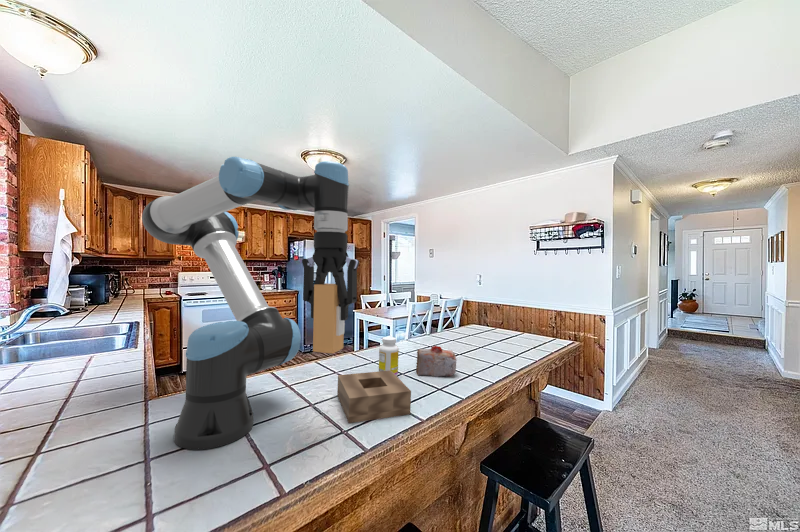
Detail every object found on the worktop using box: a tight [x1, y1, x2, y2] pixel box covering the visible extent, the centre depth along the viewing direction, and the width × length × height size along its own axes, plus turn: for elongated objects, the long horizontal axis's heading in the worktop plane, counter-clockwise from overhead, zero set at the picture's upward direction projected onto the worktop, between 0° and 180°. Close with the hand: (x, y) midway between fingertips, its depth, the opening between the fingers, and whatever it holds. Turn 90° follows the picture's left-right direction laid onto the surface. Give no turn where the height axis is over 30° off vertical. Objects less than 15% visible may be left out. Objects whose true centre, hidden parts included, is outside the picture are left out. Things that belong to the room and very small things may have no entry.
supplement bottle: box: [378, 336, 400, 377], centre depth 109 cm, size 7×7×13 cm
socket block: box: [336, 370, 412, 424], centre depth 87 cm, size 16×16×6 cm
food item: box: [415, 345, 458, 378], centre depth 113 cm, size 14×8×10 cm, turn 91°
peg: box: [312, 282, 345, 354], centre depth 73 cm, size 5×5×15 cm
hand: (328, 333), depth 73 cm, fingers closed on peg, 5 cm apart
